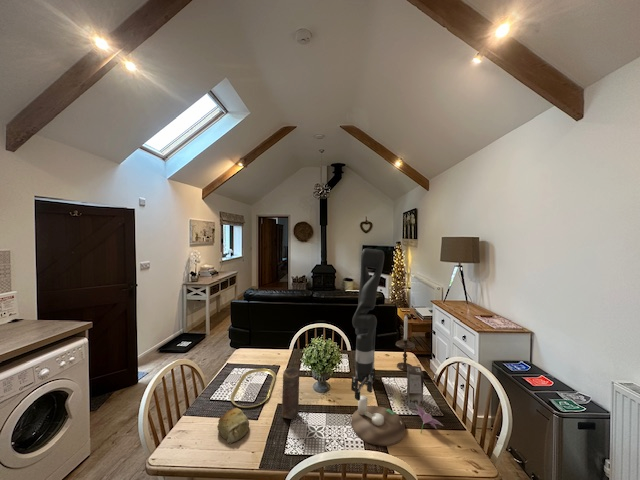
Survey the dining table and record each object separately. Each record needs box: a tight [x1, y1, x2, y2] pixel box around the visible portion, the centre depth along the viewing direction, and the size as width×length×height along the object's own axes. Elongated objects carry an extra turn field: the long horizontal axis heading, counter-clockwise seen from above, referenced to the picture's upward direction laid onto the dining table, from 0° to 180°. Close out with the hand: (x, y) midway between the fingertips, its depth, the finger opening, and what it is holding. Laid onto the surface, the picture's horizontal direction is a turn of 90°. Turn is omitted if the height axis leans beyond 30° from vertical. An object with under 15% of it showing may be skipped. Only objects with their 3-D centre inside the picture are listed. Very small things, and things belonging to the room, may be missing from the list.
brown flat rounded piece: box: [350, 405, 406, 447], centre depth 118 cm, size 22×22×2 cm
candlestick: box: [395, 309, 416, 372], centre depth 168 cm, size 11×11×35 cm
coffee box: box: [406, 365, 425, 410], centre depth 134 cm, size 9×6×16 cm
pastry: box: [216, 407, 250, 444], centre depth 114 cm, size 14×12×8 cm
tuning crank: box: [357, 394, 384, 426], centre depth 121 cm, size 12×5×6 cm, turn 44°
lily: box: [412, 404, 444, 434], centre depth 116 cm, size 12×12×10 cm
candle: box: [281, 367, 300, 420], centre depth 124 cm, size 8×7×20 cm
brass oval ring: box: [230, 368, 277, 409], centre depth 146 cm, size 19×35×2 cm, turn 179°
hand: (363, 395), depth 123 cm, fingers open, 8 cm apart
